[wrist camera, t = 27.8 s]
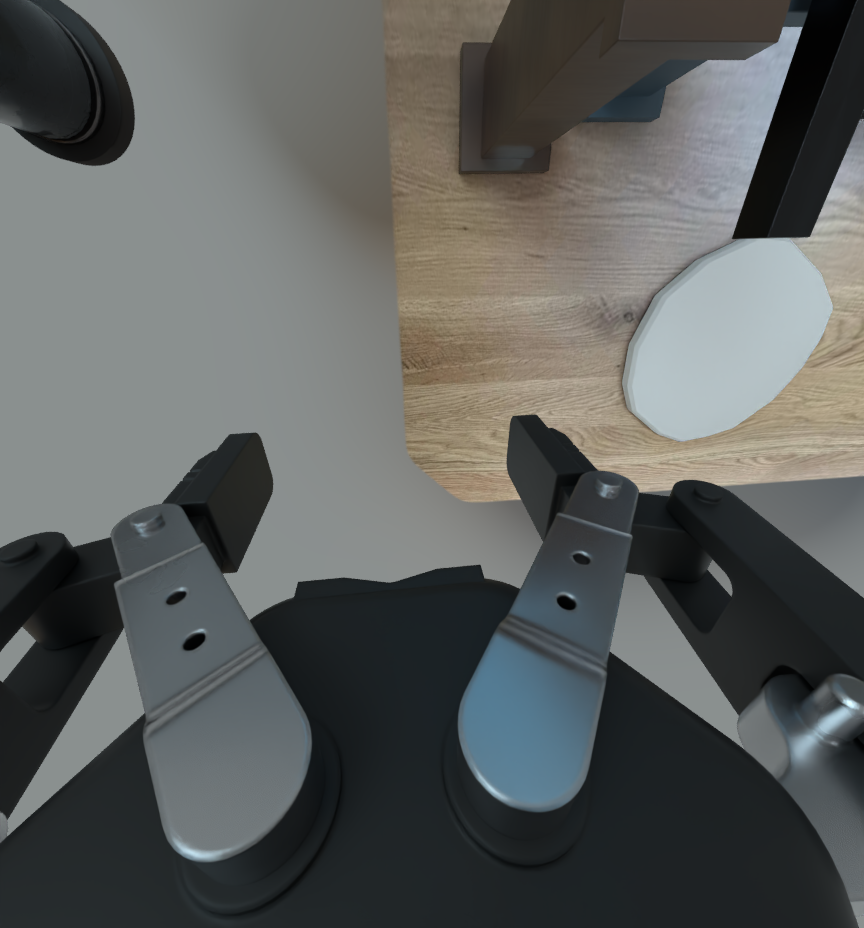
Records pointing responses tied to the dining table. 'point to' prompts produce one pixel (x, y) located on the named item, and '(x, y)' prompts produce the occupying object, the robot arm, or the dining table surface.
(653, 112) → the low stand
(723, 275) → the decorative plate
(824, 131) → the mallet
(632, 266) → the dining table surface
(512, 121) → the tall stand
